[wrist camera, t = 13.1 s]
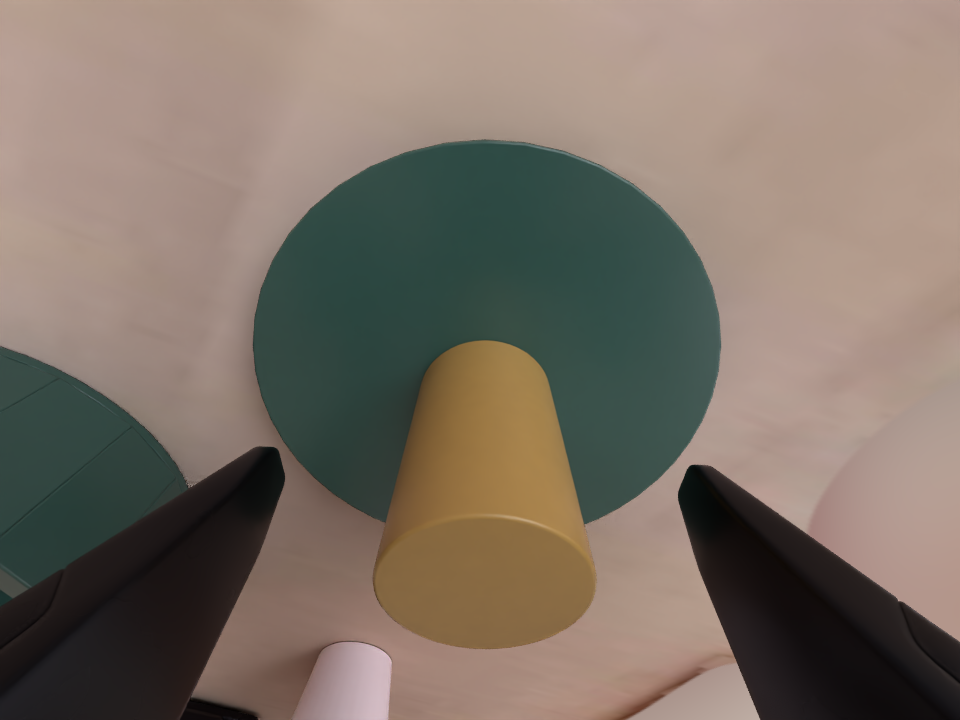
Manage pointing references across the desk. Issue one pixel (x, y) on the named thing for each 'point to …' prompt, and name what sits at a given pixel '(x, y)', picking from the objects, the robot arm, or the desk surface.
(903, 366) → the desk surface
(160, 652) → the robot arm
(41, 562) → the tin
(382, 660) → the smoothie
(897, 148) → the desk surface
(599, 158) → the desk surface
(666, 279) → the lid
